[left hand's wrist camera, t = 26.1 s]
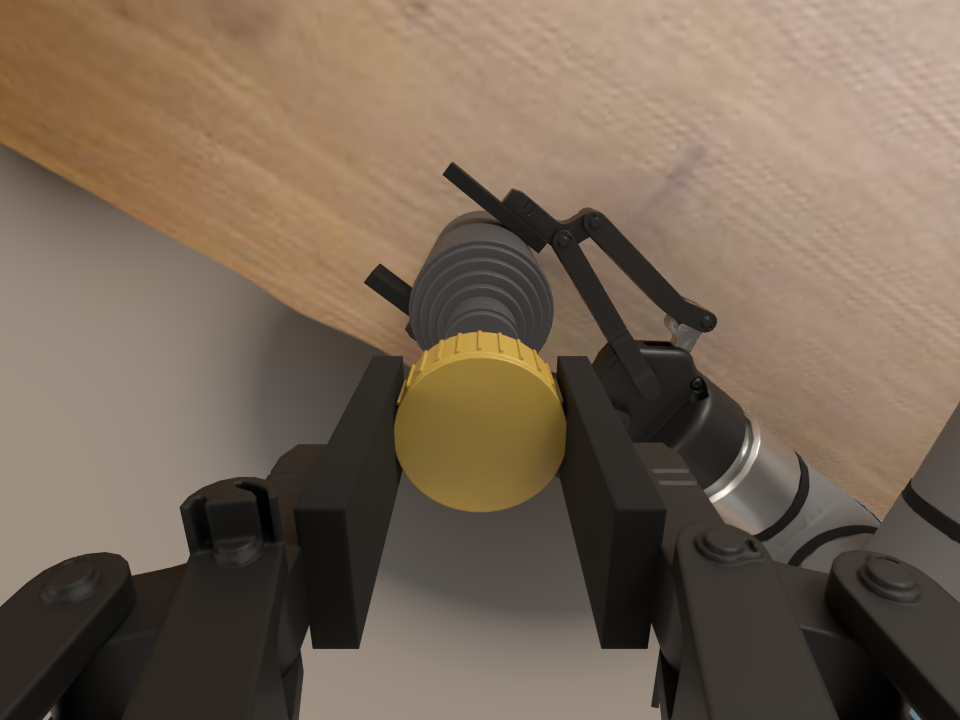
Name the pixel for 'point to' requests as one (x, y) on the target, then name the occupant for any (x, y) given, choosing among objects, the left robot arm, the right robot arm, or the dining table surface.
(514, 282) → the bottle
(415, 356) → the dining table surface
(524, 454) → the cap
